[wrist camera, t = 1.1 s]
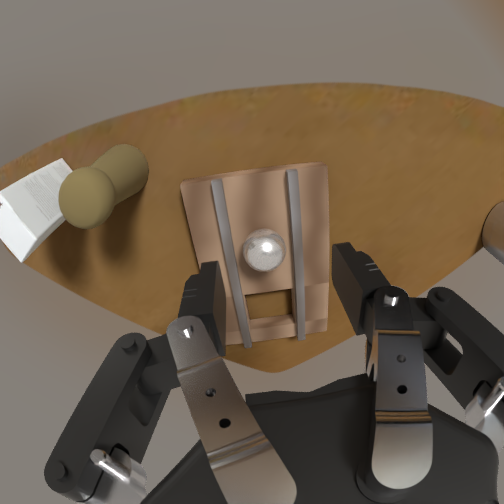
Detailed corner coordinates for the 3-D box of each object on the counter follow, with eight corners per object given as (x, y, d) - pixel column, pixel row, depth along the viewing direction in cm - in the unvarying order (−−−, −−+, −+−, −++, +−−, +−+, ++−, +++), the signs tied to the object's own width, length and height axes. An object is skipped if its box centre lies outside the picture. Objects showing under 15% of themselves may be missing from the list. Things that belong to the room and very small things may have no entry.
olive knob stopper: (129, 206, 31) (89, 253, 21) (91, 175, 29) (38, 211, 19) (159, 165, 29) (124, 199, 19) (118, 133, 27) (66, 152, 17)
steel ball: (280, 219, 31) (287, 237, 27) (284, 255, 33) (290, 276, 29) (239, 224, 31) (240, 244, 27) (245, 260, 33) (246, 283, 29)
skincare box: (45, 180, 28) (-16, 220, 18) (62, 157, 27) (-2, 189, 17) (74, 214, 31) (21, 265, 20) (92, 192, 30) (37, 239, 19)
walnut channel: (321, 161, 30) (330, 167, 27) (323, 321, 41) (328, 335, 38) (183, 180, 30) (178, 188, 27) (221, 335, 41) (221, 350, 39)
